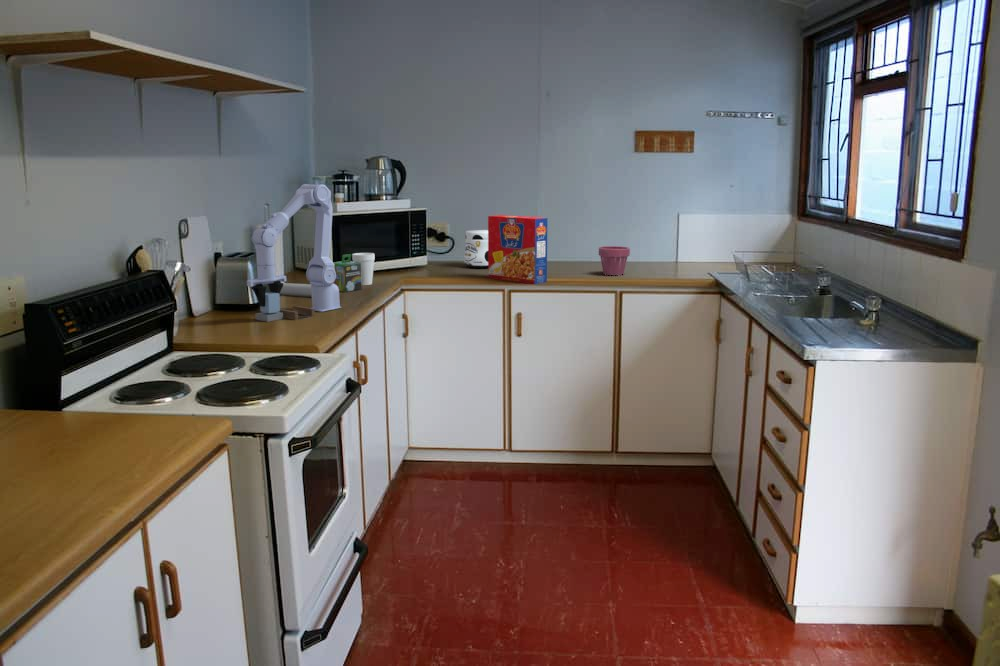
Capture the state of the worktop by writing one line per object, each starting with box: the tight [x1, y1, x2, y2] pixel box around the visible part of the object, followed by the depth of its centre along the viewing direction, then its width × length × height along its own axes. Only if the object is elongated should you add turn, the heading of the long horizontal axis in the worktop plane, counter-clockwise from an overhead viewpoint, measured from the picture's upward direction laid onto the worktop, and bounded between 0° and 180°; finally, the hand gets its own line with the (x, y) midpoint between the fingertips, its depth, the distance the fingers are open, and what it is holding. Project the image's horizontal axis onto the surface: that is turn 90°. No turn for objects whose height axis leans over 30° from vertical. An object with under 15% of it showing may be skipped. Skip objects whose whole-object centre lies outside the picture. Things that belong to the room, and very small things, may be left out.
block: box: [259, 291, 281, 313], centre depth 265 cm, size 4×4×6 cm
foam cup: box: [351, 252, 376, 286], centre depth 342 cm, size 10×9×13 cm
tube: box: [280, 282, 312, 298], centre depth 312 cm, size 5×5×25 cm
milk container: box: [463, 229, 488, 269], centre depth 395 cm, size 17×17×18 cm
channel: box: [278, 305, 316, 320], centre depth 271 cm, size 8×10×2 cm
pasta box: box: [487, 214, 548, 285], centre depth 351 cm, size 28×8×28 cm, turn 46°
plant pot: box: [598, 245, 631, 276], centre depth 368 cm, size 14×14×13 cm
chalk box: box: [333, 253, 363, 293], centre depth 325 cm, size 9×9×15 cm
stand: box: [254, 311, 284, 323], centre depth 266 cm, size 6×6×2 cm
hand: (268, 305), depth 265 cm, fingers closed on block, 4 cm apart
